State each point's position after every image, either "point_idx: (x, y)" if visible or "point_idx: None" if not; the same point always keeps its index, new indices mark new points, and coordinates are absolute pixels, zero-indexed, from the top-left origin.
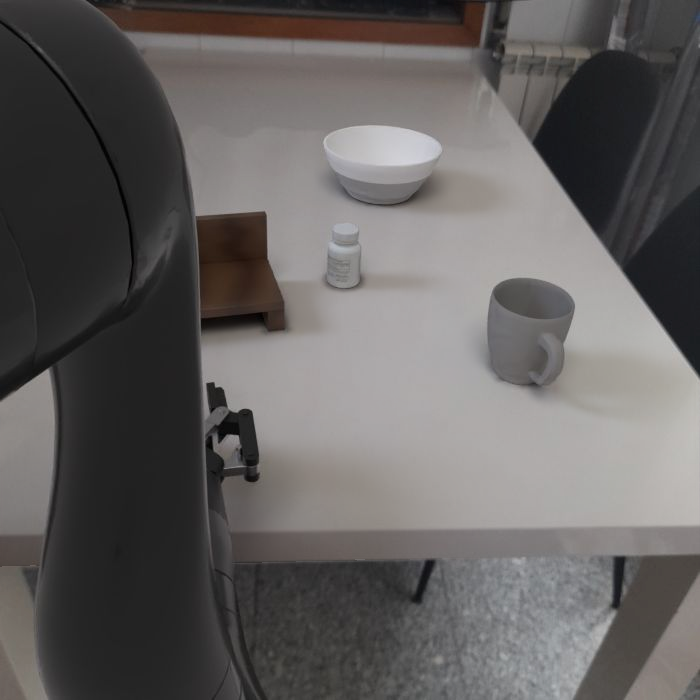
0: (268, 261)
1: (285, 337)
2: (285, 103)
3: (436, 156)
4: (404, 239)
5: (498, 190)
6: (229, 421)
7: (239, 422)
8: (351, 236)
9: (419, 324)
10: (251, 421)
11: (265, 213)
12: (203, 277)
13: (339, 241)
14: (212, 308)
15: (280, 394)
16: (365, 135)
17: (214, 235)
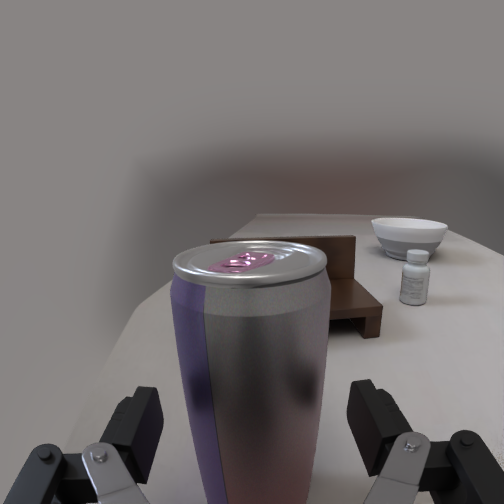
0: (355, 280)
1: (382, 343)
2: (333, 226)
3: (446, 226)
4: (440, 277)
5: (475, 255)
6: (431, 466)
7: (466, 467)
8: (425, 256)
9: (488, 326)
10: (489, 459)
11: (354, 236)
12: None
13: (415, 261)
14: None
15: (396, 401)
16: (393, 223)
17: None
